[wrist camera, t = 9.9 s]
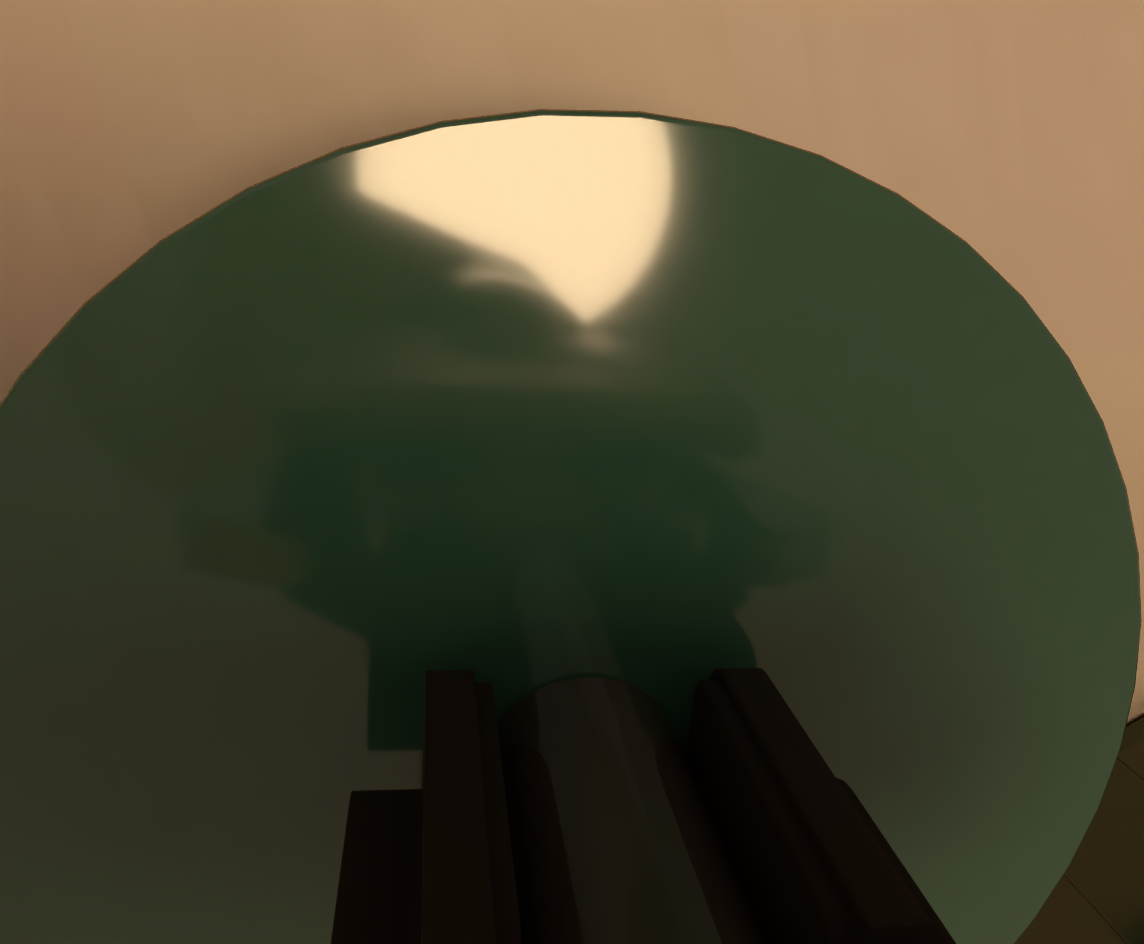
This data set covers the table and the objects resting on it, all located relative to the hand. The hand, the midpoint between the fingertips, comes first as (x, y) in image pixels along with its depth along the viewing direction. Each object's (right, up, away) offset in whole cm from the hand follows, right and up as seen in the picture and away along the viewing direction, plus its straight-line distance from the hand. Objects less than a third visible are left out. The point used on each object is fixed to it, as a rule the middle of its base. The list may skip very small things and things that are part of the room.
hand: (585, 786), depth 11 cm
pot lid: (0, 0, +1) cm, 1 cm away
